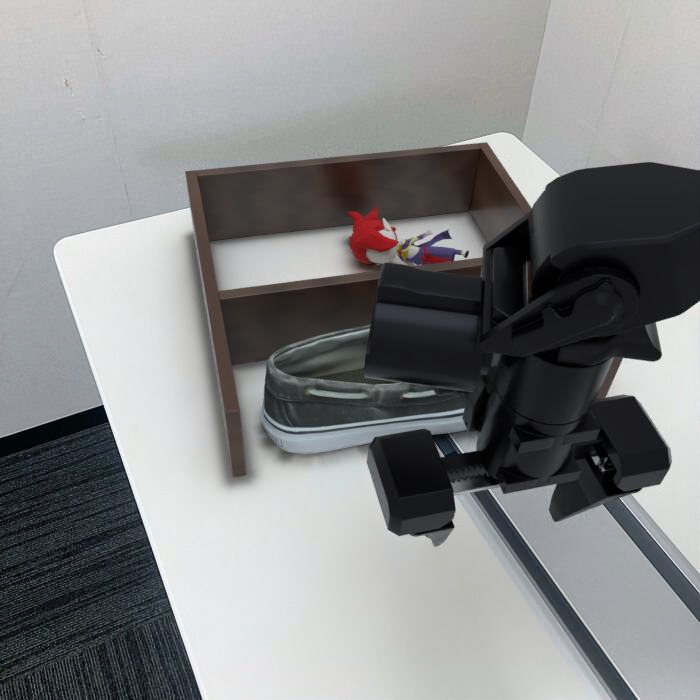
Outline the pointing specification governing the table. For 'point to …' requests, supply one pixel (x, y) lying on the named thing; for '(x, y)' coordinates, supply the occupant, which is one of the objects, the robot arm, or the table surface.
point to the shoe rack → (328, 211)
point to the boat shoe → (344, 397)
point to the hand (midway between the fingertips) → (494, 527)
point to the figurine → (395, 243)
